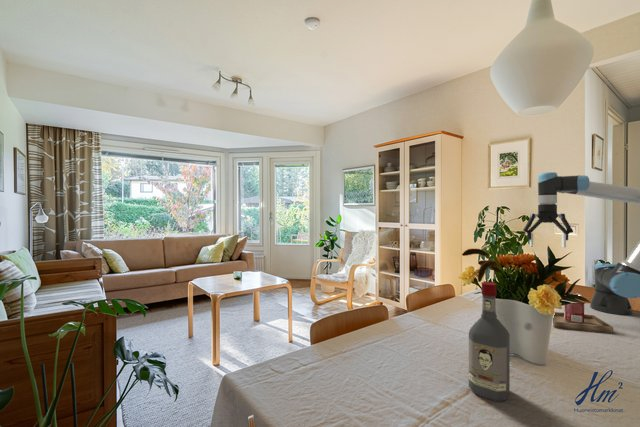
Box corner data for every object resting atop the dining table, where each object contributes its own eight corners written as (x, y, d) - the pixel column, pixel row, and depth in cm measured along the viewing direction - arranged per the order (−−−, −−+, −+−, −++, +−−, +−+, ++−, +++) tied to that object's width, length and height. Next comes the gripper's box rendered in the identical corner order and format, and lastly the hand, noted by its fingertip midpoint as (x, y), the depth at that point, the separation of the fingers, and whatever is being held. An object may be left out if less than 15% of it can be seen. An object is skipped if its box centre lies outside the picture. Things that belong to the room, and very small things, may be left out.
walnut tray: (593, 320, 137) (593, 315, 137) (613, 333, 122) (613, 327, 122) (541, 316, 143) (541, 310, 143) (554, 327, 129) (554, 321, 129)
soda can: (584, 325, 128) (585, 297, 128) (564, 322, 132) (564, 294, 132) (583, 321, 133) (583, 294, 133) (563, 317, 137) (564, 291, 137)
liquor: (474, 378, 91) (474, 278, 91) (510, 389, 85) (510, 282, 85) (466, 392, 84) (466, 284, 83) (505, 405, 78) (505, 289, 78)
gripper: (574, 203, 150) (574, 246, 150) (516, 204, 158) (516, 245, 158) (581, 203, 143) (581, 248, 143) (520, 204, 151) (520, 246, 151)
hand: (547, 246), depth 151 cm, fingers open, 13 cm apart
